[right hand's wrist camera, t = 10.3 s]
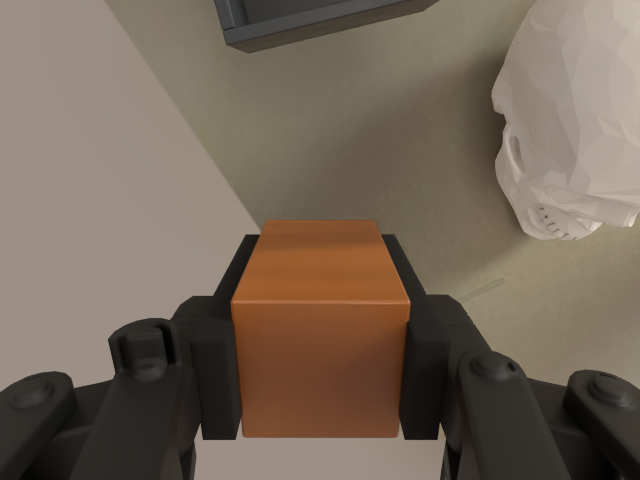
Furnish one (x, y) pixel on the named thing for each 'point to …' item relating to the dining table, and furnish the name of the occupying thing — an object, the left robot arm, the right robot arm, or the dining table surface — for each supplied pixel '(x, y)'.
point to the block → (320, 332)
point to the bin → (302, 19)
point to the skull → (572, 117)
